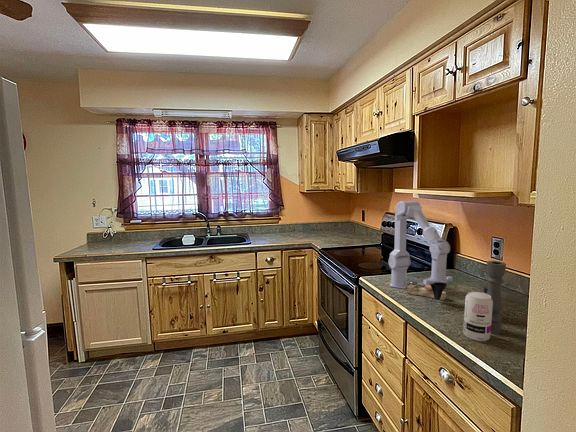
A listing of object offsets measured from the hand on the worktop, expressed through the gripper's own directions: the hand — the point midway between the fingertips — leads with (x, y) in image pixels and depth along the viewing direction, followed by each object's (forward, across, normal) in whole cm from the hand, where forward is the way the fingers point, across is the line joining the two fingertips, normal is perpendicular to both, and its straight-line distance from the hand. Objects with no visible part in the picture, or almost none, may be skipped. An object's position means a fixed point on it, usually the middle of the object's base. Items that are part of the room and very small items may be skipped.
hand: (437, 298), depth 143 cm
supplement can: (+2, -10, -29) cm, 31 cm away
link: (+1, +1, +8) cm, 8 cm away
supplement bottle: (+2, +8, -19) cm, 21 cm away
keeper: (+2, +2, +7) cm, 8 cm away
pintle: (+2, -2, +13) cm, 13 cm away
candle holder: (+2, -1, -27) cm, 27 cm away
